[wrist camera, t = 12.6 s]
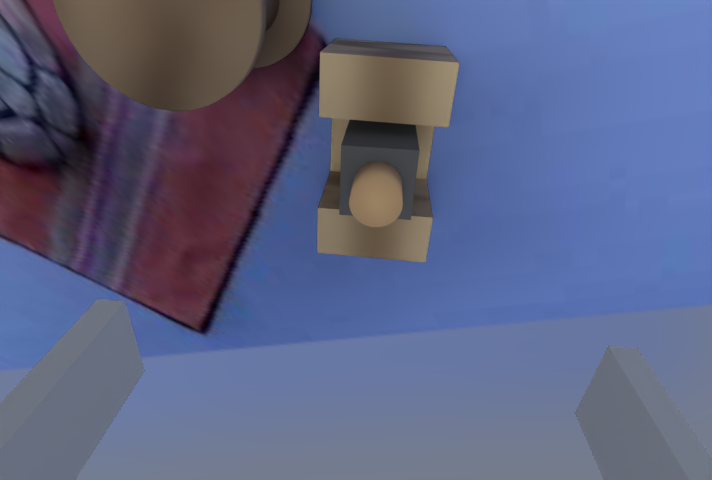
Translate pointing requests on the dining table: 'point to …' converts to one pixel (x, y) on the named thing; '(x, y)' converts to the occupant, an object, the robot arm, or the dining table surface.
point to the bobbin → (181, 44)
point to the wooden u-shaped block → (392, 105)
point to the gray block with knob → (378, 171)
